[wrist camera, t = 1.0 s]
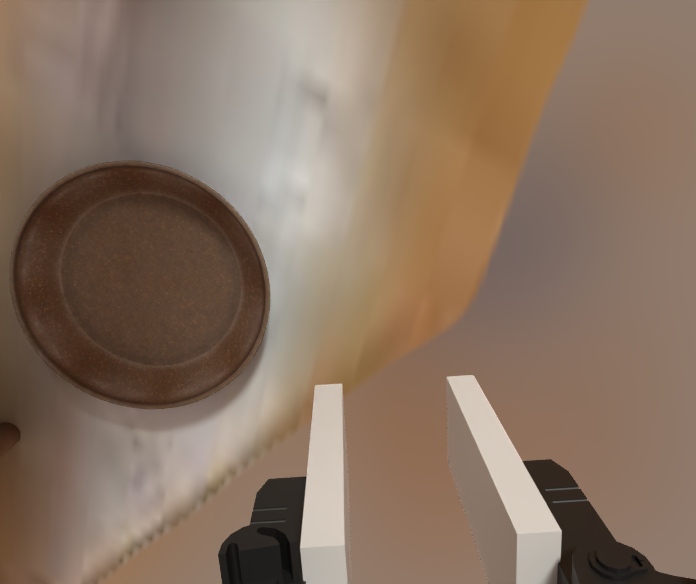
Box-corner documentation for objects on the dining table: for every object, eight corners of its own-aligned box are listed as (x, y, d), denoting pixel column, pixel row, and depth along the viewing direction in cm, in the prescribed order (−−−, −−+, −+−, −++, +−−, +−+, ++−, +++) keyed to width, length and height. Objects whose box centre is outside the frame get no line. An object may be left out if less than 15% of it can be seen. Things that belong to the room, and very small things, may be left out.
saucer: (235, 419, 38) (227, 440, 35) (11, 350, 36) (-14, 367, 34) (306, 208, 34) (303, 214, 32) (61, 122, 33) (37, 121, 30)
